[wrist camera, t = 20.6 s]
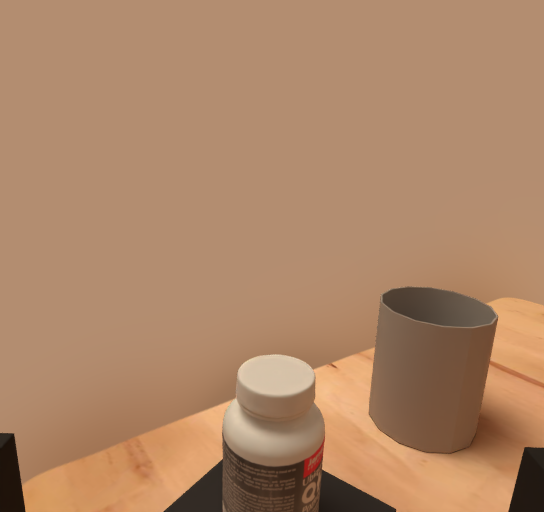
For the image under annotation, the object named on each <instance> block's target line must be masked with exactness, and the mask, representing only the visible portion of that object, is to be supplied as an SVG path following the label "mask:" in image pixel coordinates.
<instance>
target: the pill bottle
mask: <svg viewBox="0 0 544 512" xmlns="http://www.w3.org/2000/svg"><path fill="white" fill-rule="evenodd" d="M314 399H315V373H314V371H313V370H312V368H311V367H310V366H309V365H308V364H307V363H305V362H303V361H302V360H299V359H297V358H294V357H290V356H285V355H264V356H258V357H255V358H252V359H250V360H248V361H246V362H245V363H244V364H242V365H241V367H240V368H239V370H238V374H237V388H236V398H235V399H234V400H233V401H232V402H231V403H230V405H229V406H228V408H227V410H226V412H225V415H224V419H223V431H222V436H223V478H222V482H223V485H222V500H223V512H319V498H320V486H321V472H322V461H323V449H324V440H325V424H324V419H323V416H322V414H321V412H320V410H319V408H318V407H317V406H316V405H315V403H314Z"/></svg>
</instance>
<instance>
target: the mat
mask: <svg viewBox="0 0 544 512" xmlns="http://www.w3.org/2000/svg"><path fill="white" fill-rule="evenodd" d="M222 478H223V459H222V460H221V461H220V462H219V463H218V464H217V465H216V466H215V467H213V468H212V469H211V470H210V471H209V472H208V473H207V474H205V475H204V476H203V477H202V478H201V479H200V480H199V481H198V482H196V483H195V484H194V485H193V486H192V487H191V488H190V489H189V490H187V491H186V492H185V493H184V494H183V495H182V496H181V497H179V498H178V499H177V500H176V501H175V502H174V503H173V504H172V505H170V506H169V507H168V508H167V509H166V510H165V511H164V512H223V500H222V485H223V482H222ZM319 512H396V509H395V508H393V507H391V506H389V505H387V504H385V503H384V502H382V501H380V500H378V499H376V498H374V497H372V496H370V495H369V494H367V493H365V492H363V491H361V490H359V489H357V488H355V487H354V486H352V485H350V484H348V483H346V482H344V481H342V480H340V479H339V478H337V477H335V476H333V475H331V474H329V473H327V472H325V471H324V470H322V472H321V486H320V498H319Z"/></svg>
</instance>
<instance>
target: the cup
mask: <svg viewBox="0 0 544 512" xmlns="http://www.w3.org/2000/svg"><path fill="white" fill-rule="evenodd" d="M497 320H498V315H497V314H496V312H495V311H494V310H493V308H492V307H491V306H489V305H487V304H485V303H483V302H481V301H480V300H478V299H476V298H473V297H470V296H466V295H463V294H460V293H457V292H454V291H448V290H442V289H436V288H430V287H400V288H393V289H390V290H388V291H386V292H384V293H382V294H381V299H380V308H379V317H378V326H377V336H376V345H375V354H374V363H373V373H372V382H371V391H370V401H369V415H370V416H371V418H372V419H373V421H374V422H375V424H376V425H377V427H378V428H379V429H380V430H381V431H382V432H384V433H385V434H387V435H388V436H390V437H391V438H393V439H394V440H395V441H397V442H398V443H401V444H404V445H406V446H409V447H412V448H415V449H418V450H421V451H424V452H437V453H453V452H455V451H458V450H461V449H463V448H466V447H469V446H470V444H471V442H472V440H473V438H474V436H475V434H476V430H477V425H478V420H479V415H480V409H481V404H482V399H483V394H484V388H485V383H486V378H487V373H488V368H489V362H490V357H491V352H492V347H493V341H494V336H495V331H496V326H497Z"/></svg>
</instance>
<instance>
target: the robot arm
mask: <svg viewBox="0 0 544 512" xmlns="http://www.w3.org/2000/svg"><path fill="white" fill-rule="evenodd" d="M0 512H25V505H24V498H23V491H22V484H21V478H20V471H19V465H18V457H17V450H16V444H15V437H14V434H12V433H0ZM508 512H544V448H533V447H525V448H524V452H523V456H522V460H521V464H520V468H519V472H518V476H517V480H516V484H515V488H514V492H513V496H512V500H511V504H510V508H509V511H508Z"/></svg>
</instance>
